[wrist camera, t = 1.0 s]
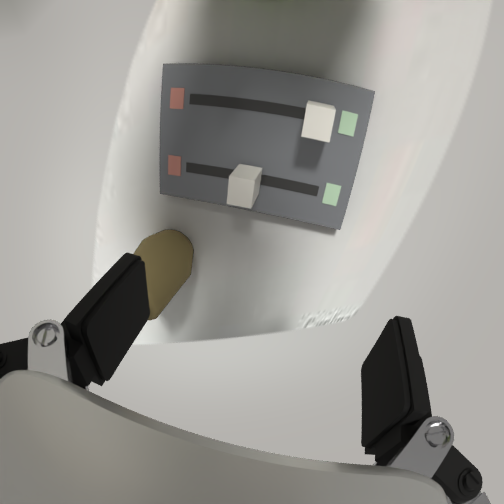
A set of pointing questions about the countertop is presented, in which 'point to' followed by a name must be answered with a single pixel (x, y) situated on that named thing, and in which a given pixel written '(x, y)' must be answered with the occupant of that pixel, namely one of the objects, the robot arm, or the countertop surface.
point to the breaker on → (318, 121)
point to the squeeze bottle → (165, 266)
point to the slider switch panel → (260, 138)
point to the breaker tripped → (244, 185)
